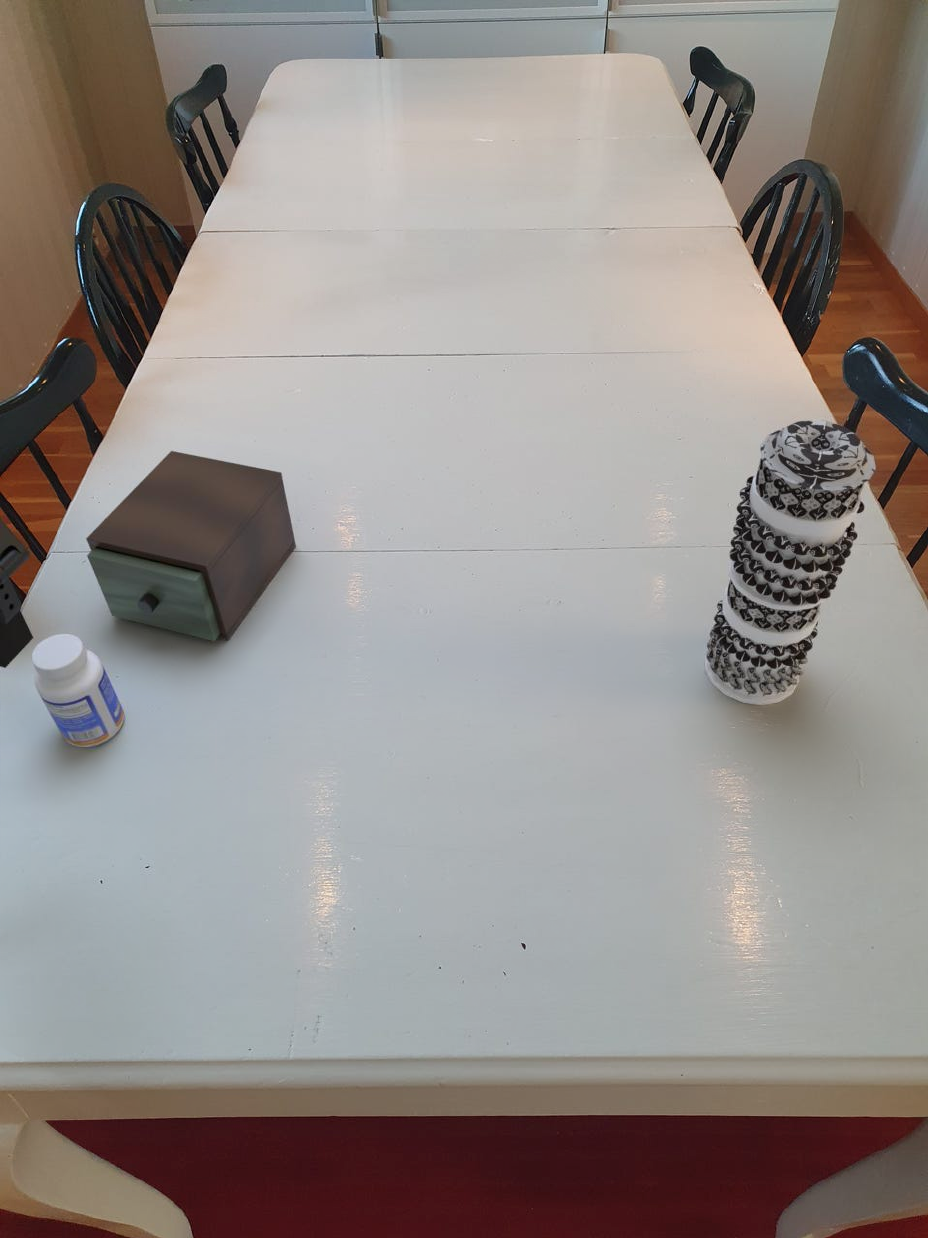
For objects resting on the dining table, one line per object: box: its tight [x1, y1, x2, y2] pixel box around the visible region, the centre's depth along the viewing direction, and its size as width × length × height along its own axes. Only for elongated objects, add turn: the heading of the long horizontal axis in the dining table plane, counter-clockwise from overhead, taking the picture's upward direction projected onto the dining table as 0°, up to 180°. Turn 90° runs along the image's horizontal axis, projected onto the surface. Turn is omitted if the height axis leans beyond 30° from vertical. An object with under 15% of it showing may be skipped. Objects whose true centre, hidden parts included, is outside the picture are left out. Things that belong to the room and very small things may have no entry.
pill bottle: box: [31, 633, 125, 748], centre depth 76 cm, size 5×5×10 cm
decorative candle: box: [704, 419, 877, 706], centre depth 74 cm, size 9×9×25 cm
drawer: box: [86, 548, 221, 642], centre depth 88 cm, size 15×11×8 cm
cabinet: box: [85, 450, 297, 641], centre depth 90 cm, size 15×13×10 cm
